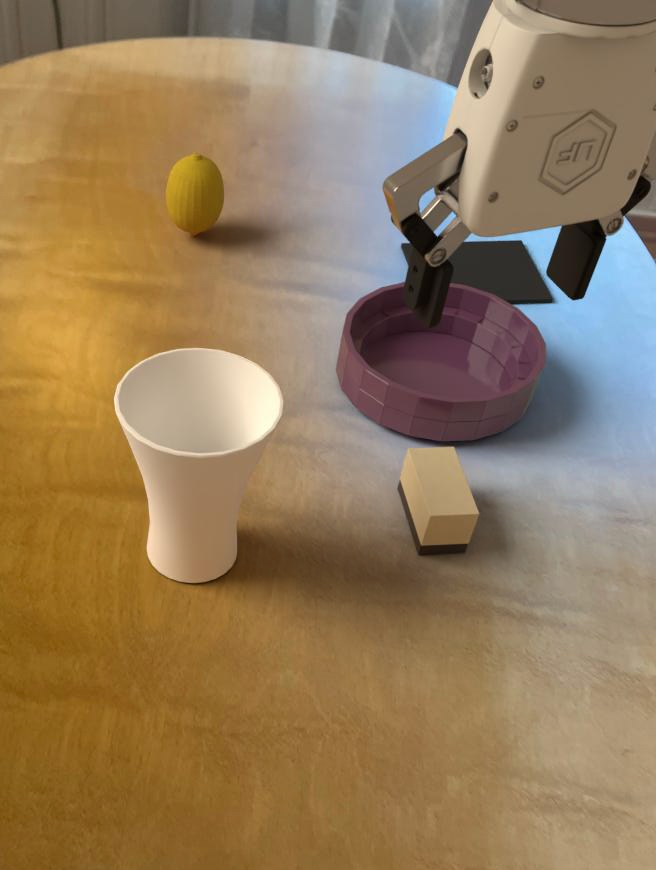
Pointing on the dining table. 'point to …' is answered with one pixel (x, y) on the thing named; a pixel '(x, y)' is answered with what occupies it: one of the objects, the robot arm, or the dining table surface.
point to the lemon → (195, 194)
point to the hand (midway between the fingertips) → (493, 301)
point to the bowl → (440, 364)
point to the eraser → (437, 500)
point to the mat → (496, 270)
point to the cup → (196, 451)
